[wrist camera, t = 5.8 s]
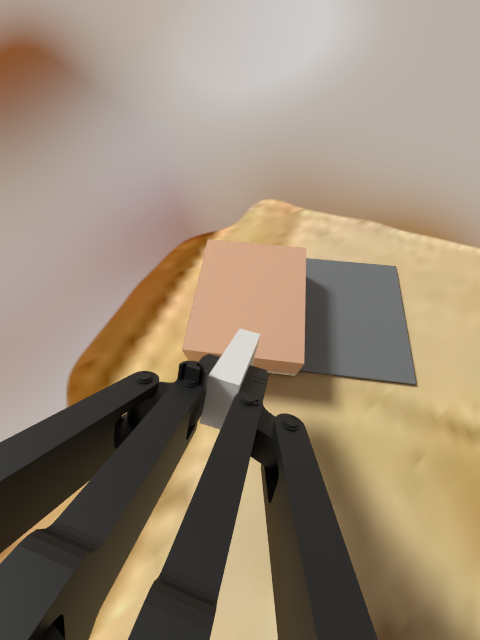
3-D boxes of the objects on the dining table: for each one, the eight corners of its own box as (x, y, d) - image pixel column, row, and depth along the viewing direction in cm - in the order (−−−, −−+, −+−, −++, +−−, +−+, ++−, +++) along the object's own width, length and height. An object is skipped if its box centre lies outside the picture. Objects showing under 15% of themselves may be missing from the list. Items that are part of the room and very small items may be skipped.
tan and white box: (304, 363, 20) (306, 247, 26) (181, 349, 21) (208, 239, 26) (295, 375, 24) (298, 272, 29) (190, 363, 25) (212, 264, 30)
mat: (414, 384, 24) (416, 383, 23) (202, 359, 25) (202, 358, 25) (394, 267, 30) (395, 266, 29) (223, 252, 31) (223, 251, 31)
